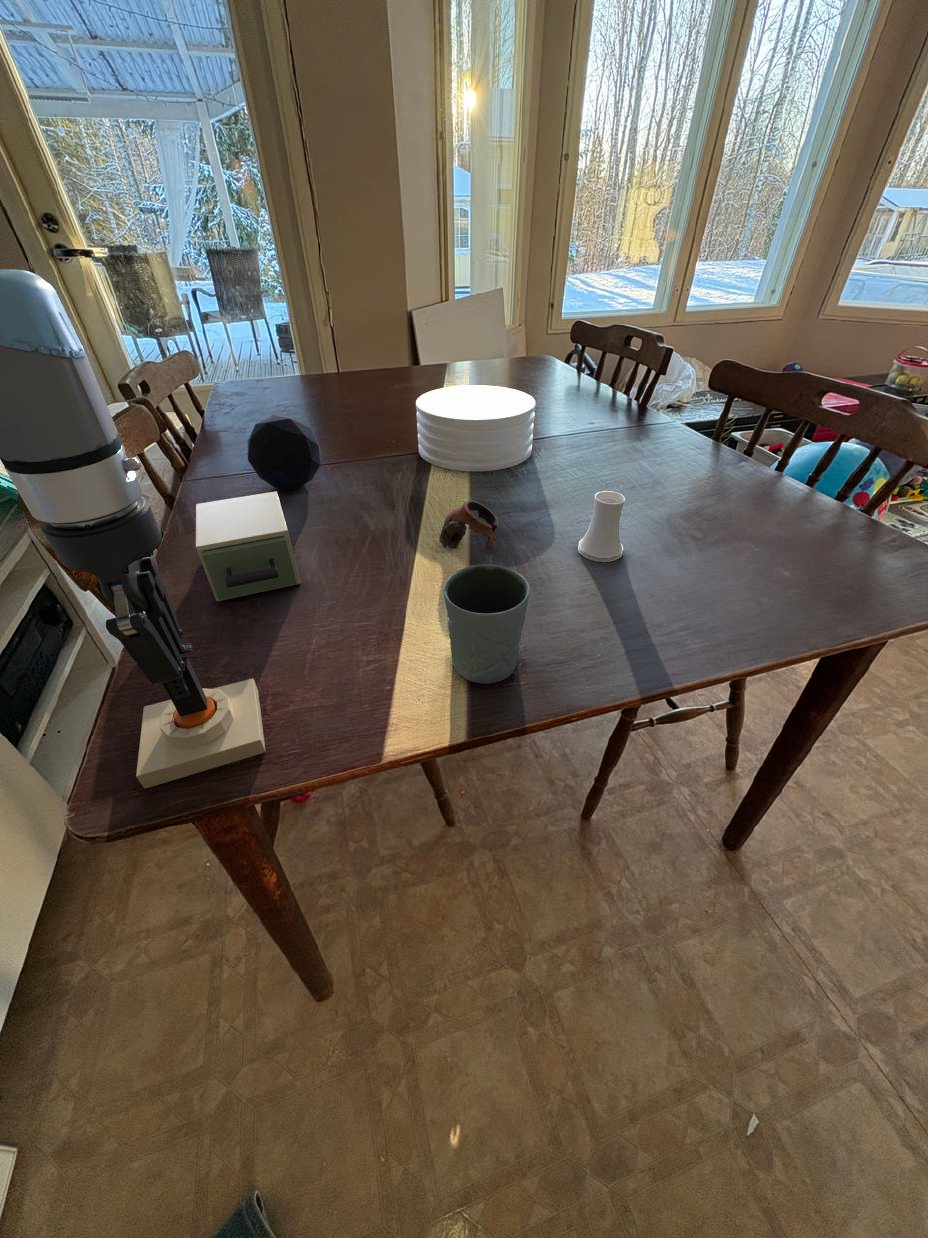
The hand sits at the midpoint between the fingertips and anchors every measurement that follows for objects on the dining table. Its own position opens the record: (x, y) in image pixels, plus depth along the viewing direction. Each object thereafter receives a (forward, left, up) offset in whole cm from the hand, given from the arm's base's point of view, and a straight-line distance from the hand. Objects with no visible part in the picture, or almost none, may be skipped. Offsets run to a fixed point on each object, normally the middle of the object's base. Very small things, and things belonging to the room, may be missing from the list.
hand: (193, 707), depth 55 cm
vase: (+64, +17, -5) cm, 66 cm away
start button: (0, 0, -2) cm, 2 cm away
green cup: (+34, -1, -5) cm, 34 cm away
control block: (0, 0, -5) cm, 5 cm away
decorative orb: (+18, +66, -5) cm, 69 cm away
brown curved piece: (+43, +28, -5) cm, 51 cm away
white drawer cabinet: (+8, +34, -5) cm, 35 cm away
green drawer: (+8, +30, -4) cm, 31 cm away
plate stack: (+63, +70, -5) cm, 94 cm away
